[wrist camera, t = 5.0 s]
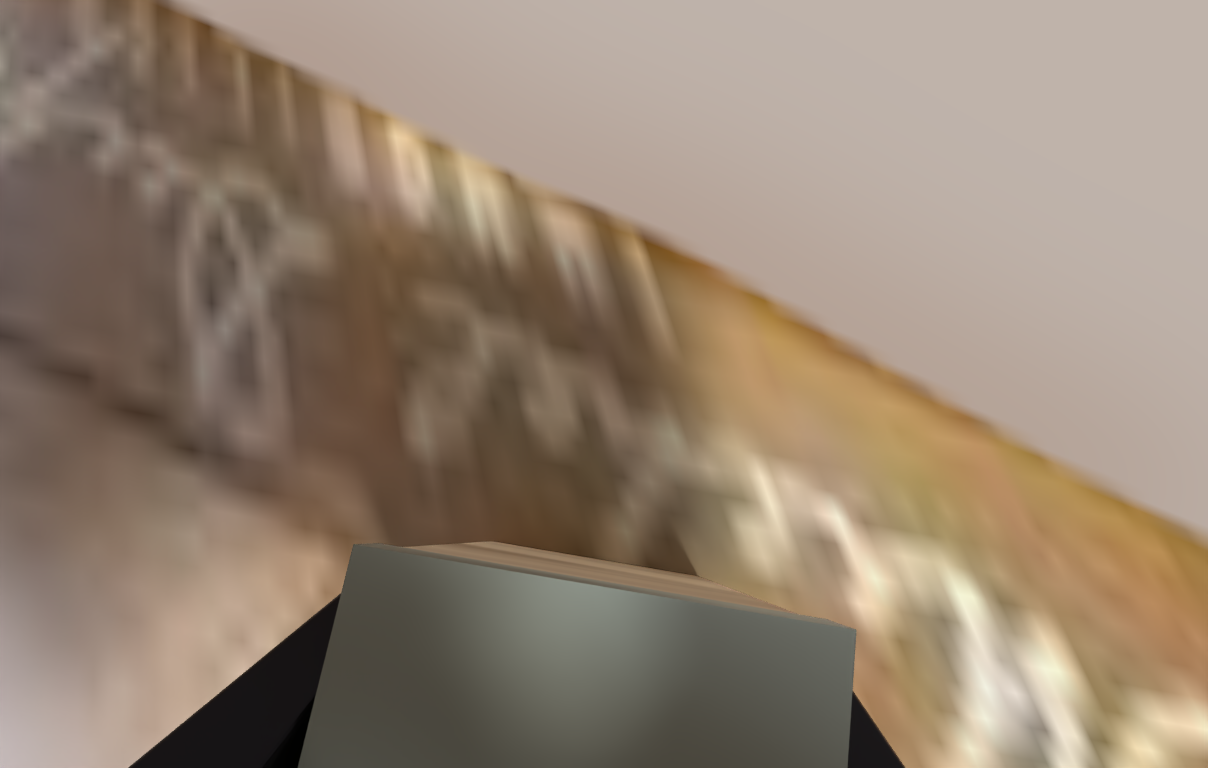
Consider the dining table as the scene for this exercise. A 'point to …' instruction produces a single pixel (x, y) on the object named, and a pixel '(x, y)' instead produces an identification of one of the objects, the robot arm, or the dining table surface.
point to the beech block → (570, 668)
